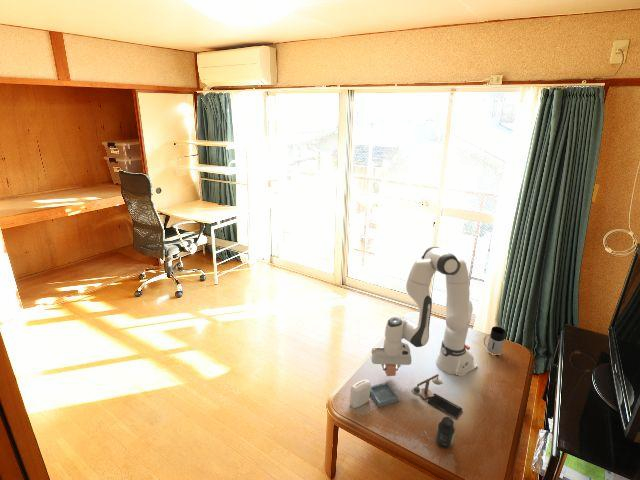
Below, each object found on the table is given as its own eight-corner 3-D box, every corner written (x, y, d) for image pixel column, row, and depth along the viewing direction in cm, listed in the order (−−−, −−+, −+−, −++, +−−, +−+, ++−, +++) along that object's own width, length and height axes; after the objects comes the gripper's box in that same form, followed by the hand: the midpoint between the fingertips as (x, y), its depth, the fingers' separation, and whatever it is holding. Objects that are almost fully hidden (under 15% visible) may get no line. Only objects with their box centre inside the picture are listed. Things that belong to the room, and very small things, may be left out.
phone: (433, 392, 186) (463, 408, 177) (433, 394, 186) (462, 410, 177) (426, 401, 180) (456, 418, 171) (426, 403, 181) (456, 420, 172)
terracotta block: (392, 369, 196) (393, 360, 194) (395, 375, 192) (396, 366, 190) (384, 370, 196) (385, 361, 194) (387, 376, 192) (388, 367, 190)
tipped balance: (435, 386, 191) (438, 369, 187) (442, 394, 186) (446, 377, 182) (408, 394, 186) (410, 376, 181) (415, 402, 180) (417, 385, 176)
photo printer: (364, 395, 184) (366, 375, 179) (370, 401, 180) (372, 381, 176) (348, 404, 178) (349, 383, 174) (353, 410, 175) (355, 389, 170)
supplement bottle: (455, 446, 158) (460, 425, 154) (442, 450, 156) (446, 429, 152) (444, 433, 164) (449, 412, 160) (432, 437, 162) (436, 417, 158)
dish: (386, 385, 190) (387, 381, 190) (398, 401, 181) (398, 397, 180) (367, 390, 187) (368, 386, 186) (378, 407, 177) (379, 403, 176)
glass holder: (504, 354, 217) (510, 332, 212) (486, 359, 212) (491, 338, 207) (493, 345, 225) (498, 324, 219) (475, 350, 220) (480, 329, 214)
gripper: (372, 351, 186) (370, 373, 191) (413, 352, 185) (410, 374, 190) (371, 343, 192) (369, 365, 197) (411, 344, 191) (408, 366, 196)
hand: (390, 369), depth 193 cm, fingers closed on terracotta block, 5 cm apart
